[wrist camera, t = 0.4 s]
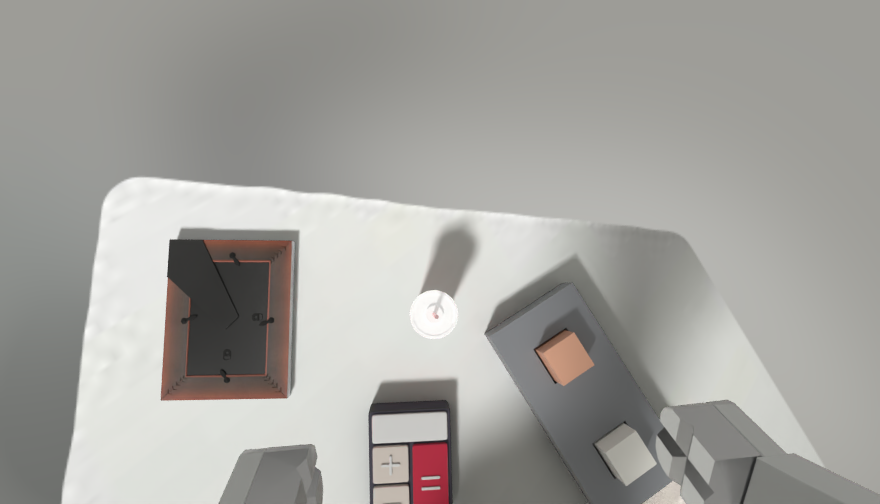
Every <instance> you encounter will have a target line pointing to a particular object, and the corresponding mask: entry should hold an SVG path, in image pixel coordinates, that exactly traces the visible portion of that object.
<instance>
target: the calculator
mask: <svg viewBox="0 0 880 504" xmlns="http://www.w3.org/2000/svg"><path fill="white" fill-rule="evenodd" d="M369 471H370V504H452V474H451V432H450V409H449V405H448V402H447V401H446V400H440V401H418V402H397V403H376V404H372V405H371V407H370V411H369Z"/></svg>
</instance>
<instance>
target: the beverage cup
mask: <svg viewBox="0 0 880 504" xmlns="http://www.w3.org/2000/svg"><path fill="white" fill-rule="evenodd" d="M457 320H458V309H457V306H456V304H455V302H454V300H453V298H451V297H450V296H449V295H448V294H446V293H445V292H441V291H438V290H432V291H426V292H424V293H422V294H420V295H419V296H418V297H417V298H416V299H415V300H414V302H413V303H412V306H411V309H410V322H411V324H412V326H413V328H414V329H415V331H416V332H417V333H419V334H420V335H421V336H422V337H425V338H429V339H439V338H443V337H444V336H446V335H448V334H450V333H451V331H452V330H453V329H454V327H455V326H456V323H457Z"/></svg>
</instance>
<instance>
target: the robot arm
mask: <svg viewBox="0 0 880 504" xmlns="http://www.w3.org/2000/svg"><path fill="white" fill-rule="evenodd" d="M660 422H661V423H662V424H663V426H664V428H663V429H662V430H661V431H660V432H659V433H658V434H657V437H656V445H655V446H656V451H657V457H658V460H659V462H660V464H661V467H662V469H663V470H664V472H665V473H666V475H667V476H668V478H670V479H671V480H673V481H674V482H676V483H678V484H679V485H681V491H680V496H681V497H682V499H683V500H684V502H685V503H686V504H880V494H877V493H875V492H873V491H871V490H869V489H867V488H865V487H863V486H861V485H859V484H857V483H855V482H852V481H850V480H848V479H846V478H844V477H842V476H840V475H838V474H836V473H834V472H831V471H830V470H828V469H825V468H823V467H821V466H819V465H817V464H815V463H813V462H811V461H809V460H807V459H805V458H803V457H800V456H798V455H796V454H794V453H793V454H787V453H786V452H785V451H784V450H783V449H781V448H780V447H779V446H778V445H777V444H776V443H775V442H774V441H773V440H772V439H771V438H770V437H769V436H768V435H767V434H766V433H765V432H764V431H763V430H762V429H761V428H760V427H759V426H758V425H757V424H756V423H754V422H753V421H752V420H751V419H750V418H749V417H748V416H747V415H746V414H745V413H744V412H743V411H742V410H741V409H740V408H739V407H738V406H737V405H736V404H735V403H733V402H731V401H729V400H721V401H713V402H706V403H696V404H687V405H678V406H670V407H664V409H663V410H662V411H661V415H660ZM316 460H317V453H316V449H315V445H312V444H308V445H295V446H282V447H269V448H263V449H250V450H245V451H244V452H243V453H242V454H241V455H240V456H239V458H238V461H237V463H236V465H235V467H234V470H233V472H232V474H231V477H230V479H229V481H228V483H227V486H226V488H225V490H224V492H223V495H222V497H221V499H220V501H219V504H322V500H323V483H322V476H321V471H320V470H319V469H317V468H316V467H315V465H316Z"/></svg>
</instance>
